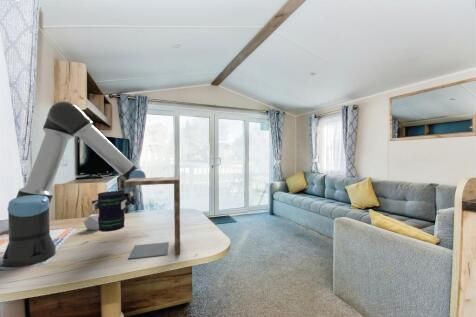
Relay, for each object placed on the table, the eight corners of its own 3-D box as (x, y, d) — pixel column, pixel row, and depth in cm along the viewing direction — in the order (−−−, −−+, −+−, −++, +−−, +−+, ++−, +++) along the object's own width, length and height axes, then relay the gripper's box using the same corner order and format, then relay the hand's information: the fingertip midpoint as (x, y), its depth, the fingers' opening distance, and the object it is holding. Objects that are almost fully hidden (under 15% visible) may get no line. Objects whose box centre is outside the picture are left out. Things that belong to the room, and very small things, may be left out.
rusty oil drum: (92, 232, 92) (92, 195, 91) (106, 224, 101) (105, 191, 101) (118, 231, 92) (117, 194, 92) (128, 224, 102) (128, 190, 102)
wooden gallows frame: (125, 260, 85) (124, 181, 85) (132, 246, 99) (131, 178, 98) (180, 254, 90) (179, 179, 90) (180, 241, 104) (179, 176, 103)
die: (86, 228, 125) (78, 217, 119) (102, 218, 130) (94, 207, 124) (92, 237, 121) (84, 226, 115) (108, 226, 126) (101, 215, 120)
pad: (128, 259, 86) (128, 258, 86) (134, 246, 98) (134, 245, 98) (167, 255, 89) (166, 254, 89) (168, 242, 102) (168, 242, 102)
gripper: (146, 203, 117) (137, 213, 95) (98, 205, 112) (76, 217, 90) (146, 188, 117) (137, 196, 95) (97, 190, 112) (76, 199, 90)
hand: (107, 206), depth 92 cm, fingers closed on rusty oil drum, 10 cm apart
